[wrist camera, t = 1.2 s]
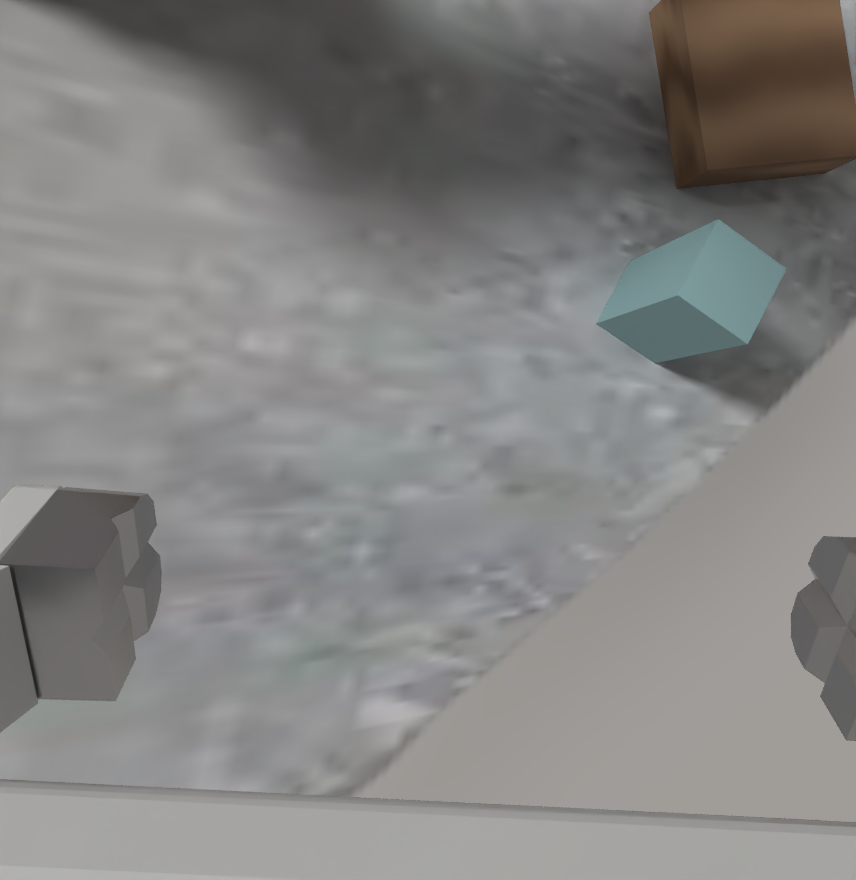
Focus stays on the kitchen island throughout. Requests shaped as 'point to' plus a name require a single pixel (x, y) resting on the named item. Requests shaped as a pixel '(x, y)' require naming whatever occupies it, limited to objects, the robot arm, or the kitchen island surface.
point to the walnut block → (754, 88)
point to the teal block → (692, 295)
